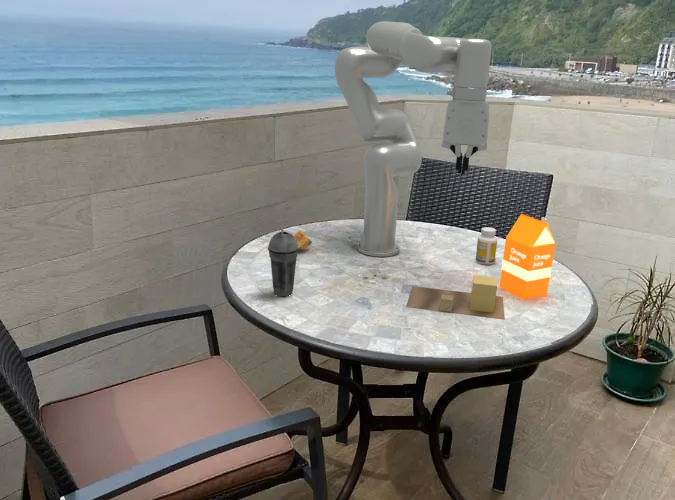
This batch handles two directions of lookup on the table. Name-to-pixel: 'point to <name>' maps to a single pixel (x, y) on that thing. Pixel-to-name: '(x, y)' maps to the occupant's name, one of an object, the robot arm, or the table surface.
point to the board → (460, 305)
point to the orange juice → (527, 258)
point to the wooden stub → (446, 303)
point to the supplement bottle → (486, 246)
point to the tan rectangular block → (483, 293)
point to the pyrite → (302, 240)
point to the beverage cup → (283, 261)
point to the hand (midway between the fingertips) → (461, 172)
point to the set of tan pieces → (374, 276)
